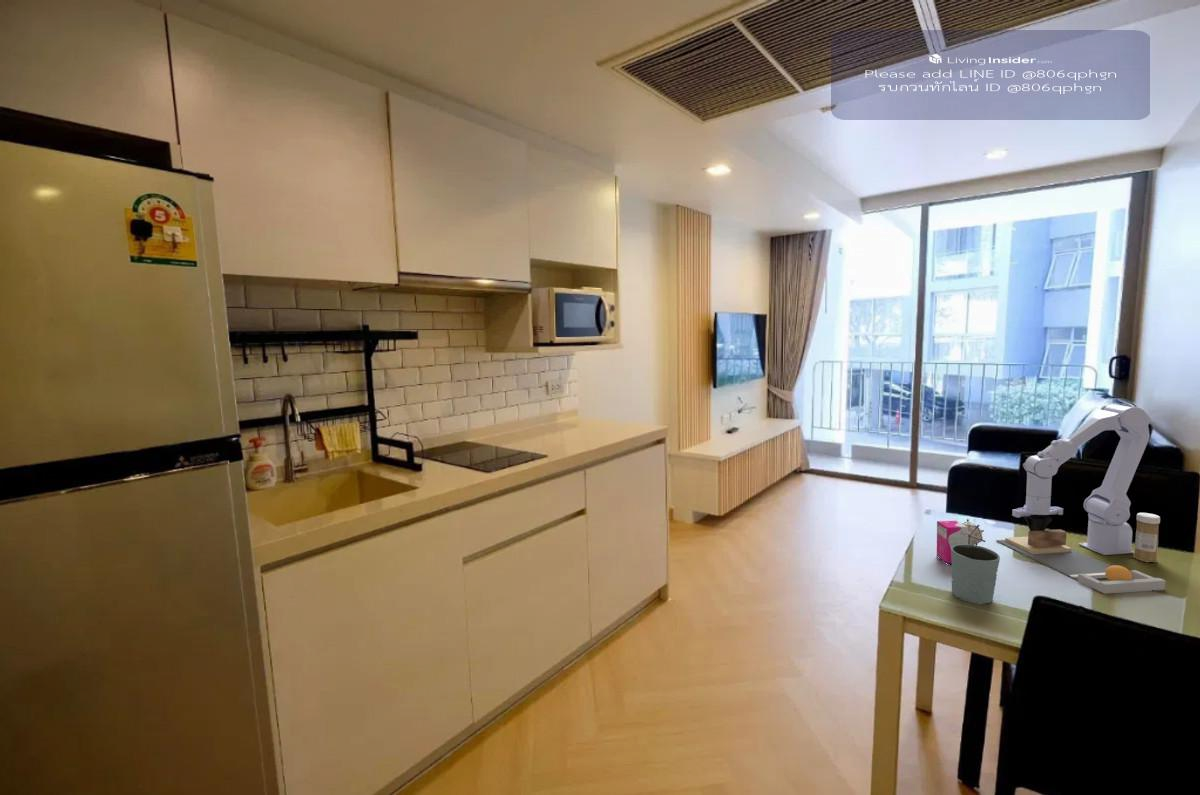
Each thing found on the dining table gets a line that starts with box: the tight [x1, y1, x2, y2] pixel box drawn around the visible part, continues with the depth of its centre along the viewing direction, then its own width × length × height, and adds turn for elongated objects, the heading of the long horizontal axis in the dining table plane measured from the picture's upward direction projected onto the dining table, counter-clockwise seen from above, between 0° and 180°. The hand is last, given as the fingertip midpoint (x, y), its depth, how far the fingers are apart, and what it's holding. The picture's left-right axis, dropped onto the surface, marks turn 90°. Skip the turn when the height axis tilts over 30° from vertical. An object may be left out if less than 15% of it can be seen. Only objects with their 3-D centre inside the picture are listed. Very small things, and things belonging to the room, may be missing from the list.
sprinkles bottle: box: [1133, 512, 1161, 563], centre depth 146 cm, size 5×5×13 cm
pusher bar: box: [1027, 528, 1068, 547], centre depth 155 cm, size 10×2×4 cm, turn 92°
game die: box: [961, 518, 986, 546], centre depth 161 cm, size 9×8×10 cm
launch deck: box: [996, 535, 1166, 595], centre depth 147 cm, size 16×34×2 cm, turn 2°
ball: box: [1105, 565, 1133, 581], centre depth 134 cm, size 5×5×5 cm
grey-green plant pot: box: [950, 544, 1001, 604], centre depth 132 cm, size 10×10×12 cm
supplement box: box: [936, 520, 968, 565], centre depth 152 cm, size 6×6×12 cm
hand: (1036, 537), depth 159 cm, fingers closed
